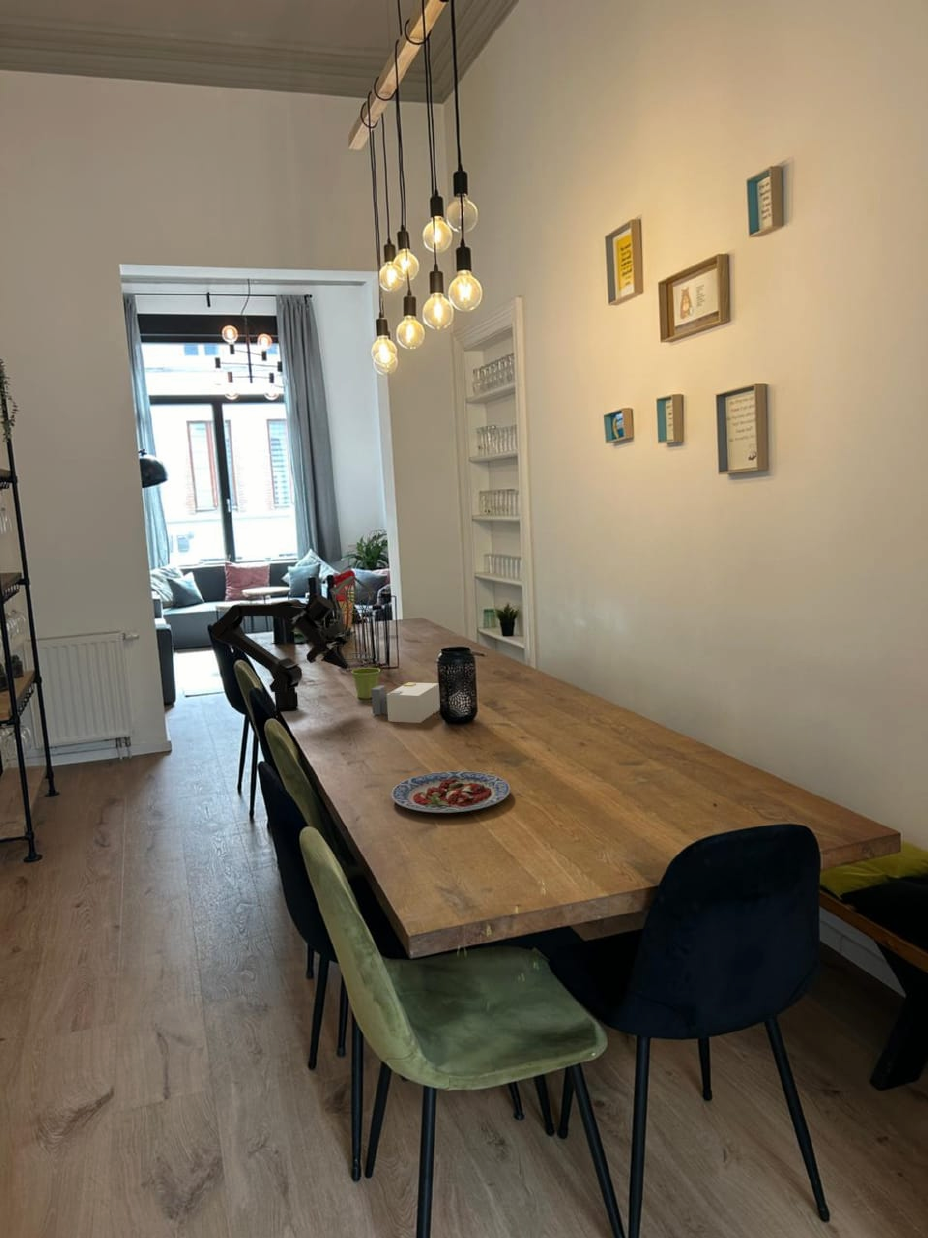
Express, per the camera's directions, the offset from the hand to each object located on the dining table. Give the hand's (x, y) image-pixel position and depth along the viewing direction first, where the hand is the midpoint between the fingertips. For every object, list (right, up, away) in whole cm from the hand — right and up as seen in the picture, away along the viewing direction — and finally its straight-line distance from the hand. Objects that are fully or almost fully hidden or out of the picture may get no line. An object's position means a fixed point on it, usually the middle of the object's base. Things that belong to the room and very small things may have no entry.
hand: (347, 668), depth 270 cm
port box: (+21, -14, -5) cm, 25 cm away
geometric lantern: (-5, -4, +68) cm, 69 cm away
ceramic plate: (+33, -24, -77) cm, 87 cm away
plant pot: (+4, -11, +21) cm, 24 cm away
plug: (+13, -13, -3) cm, 19 cm away
